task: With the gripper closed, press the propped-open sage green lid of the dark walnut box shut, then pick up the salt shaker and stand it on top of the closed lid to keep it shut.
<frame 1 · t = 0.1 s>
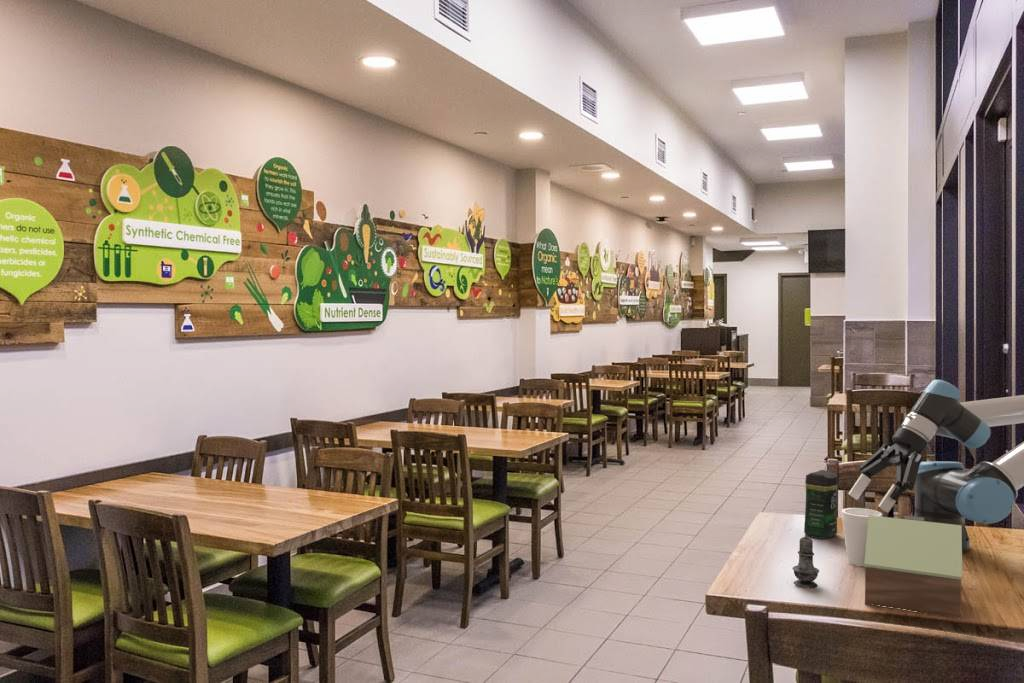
hand: (867, 503, 198), 15 cm above the table, tool tilted 35°, fingers open, 13 cm apart
foam cup: (861, 563, 199), on the table
lid: (913, 544, 170), point 13 cm above the table, hinge at 35.0°
box: (912, 601, 171), on the table
coffee jar: (821, 535, 225), on the table
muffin: (914, 577, 188), on the table
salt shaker: (805, 585, 182), on the table
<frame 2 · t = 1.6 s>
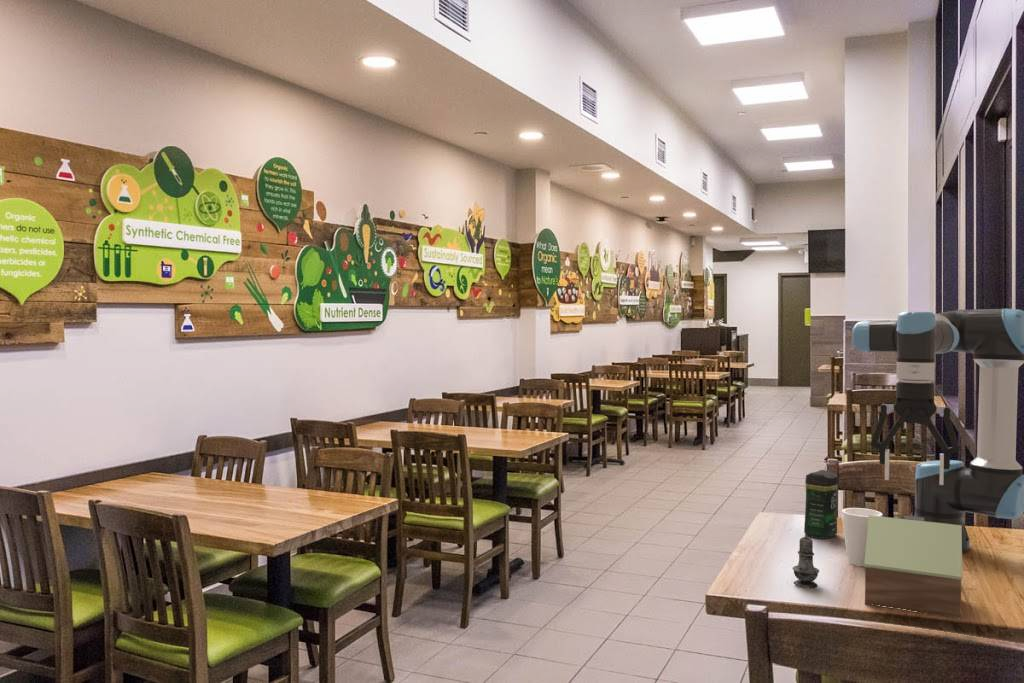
hand: (913, 481, 173), 26 cm above the table, tool pointing down, fingers open, 10 cm apart
nothing on the table moved.
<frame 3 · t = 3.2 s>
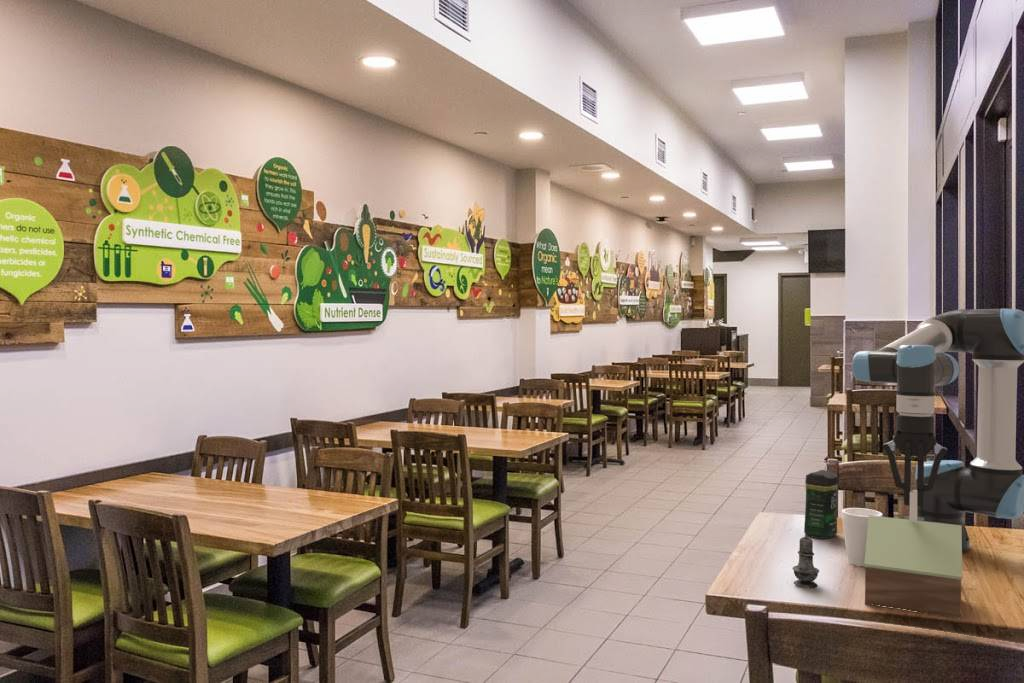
hand: (913, 520, 173), 17 cm above the table, tool pointing down, fingers closed
lid: (913, 544, 170), point 13 cm above the table, hinge at 35.0°, touching gripper
everything else where it was.
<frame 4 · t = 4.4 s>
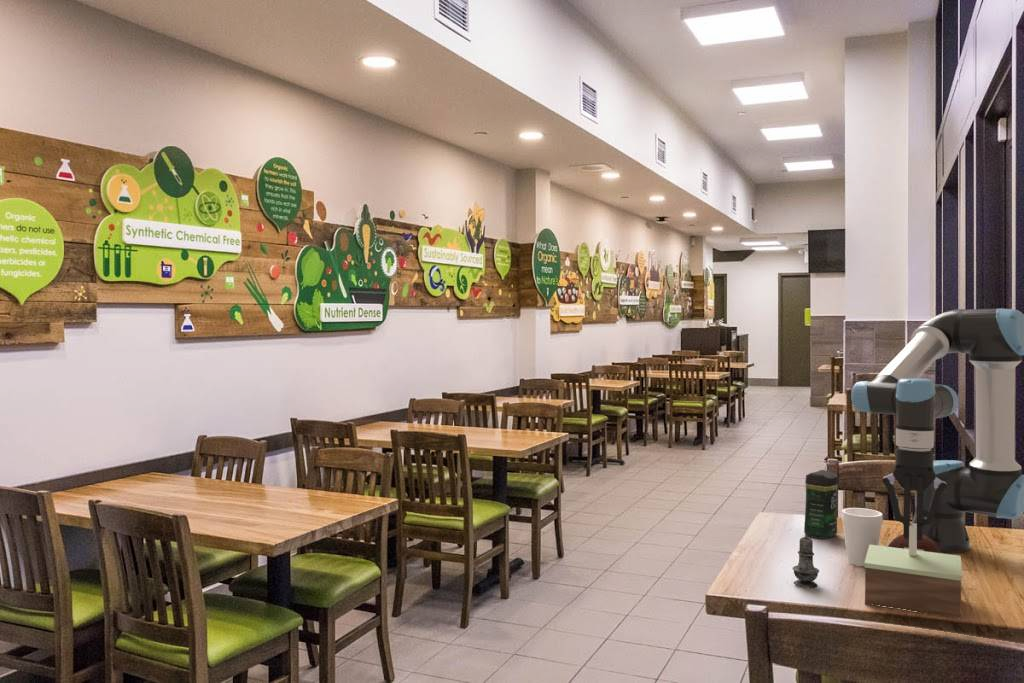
hand: (912, 553, 174), 10 cm above the table, tool pointing down, fingers closed
lid: (913, 562, 172), point 8 cm above the table, hinge at 2.1°, touching gripper
everything else where it was.
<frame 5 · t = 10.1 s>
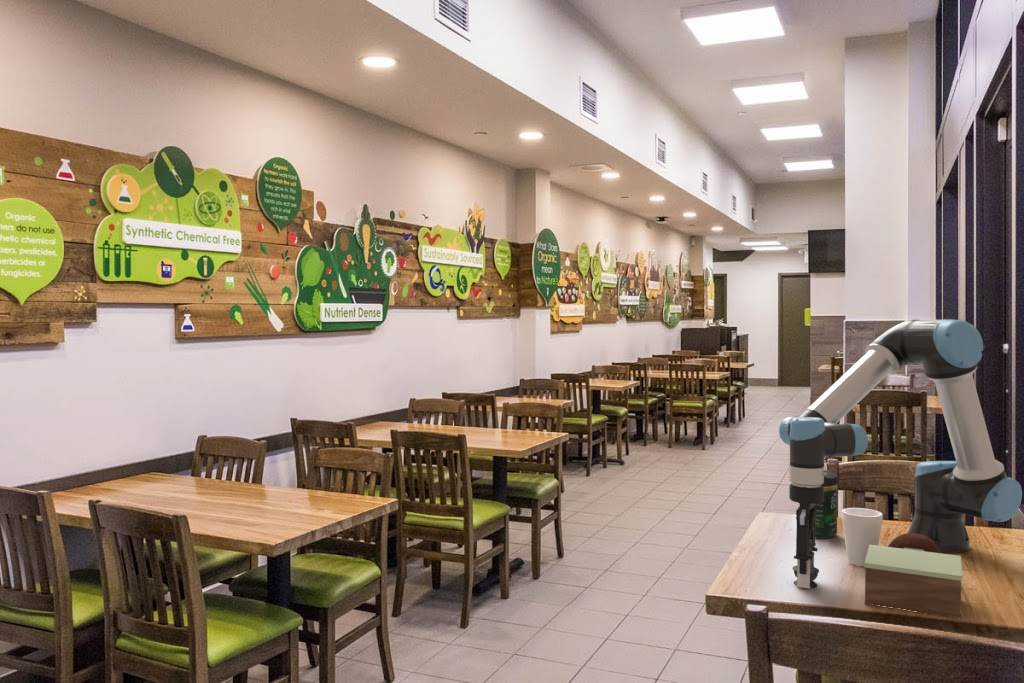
hand: (805, 582, 182), 0 cm above the table, tool pointing down, fingers closed on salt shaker, 6 cm apart
lid: (913, 562, 172), point 8 cm above the table, hinge at 2.1°
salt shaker: (805, 585, 182), on the table, touching gripper
everything else where it was.
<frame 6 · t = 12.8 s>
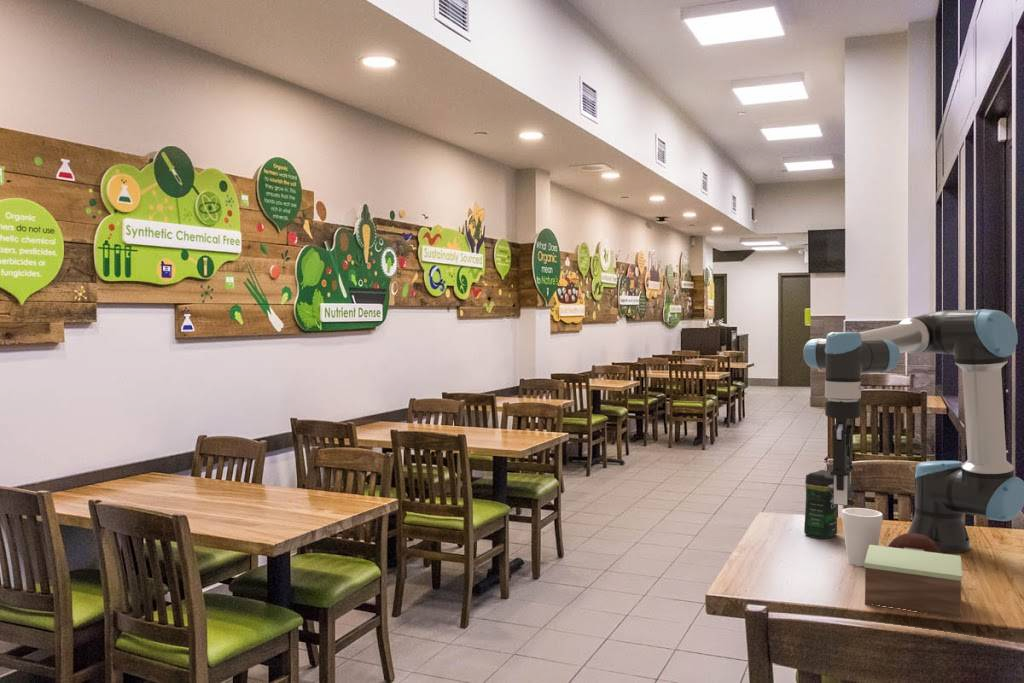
hand: (842, 500, 178), 20 cm above the table, tool pointing down, fingers closed on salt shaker, 6 cm apart
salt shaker: (842, 503, 178), point 20 cm above the table, touching gripper
everything else where it was.
when the fingers open (11 cm above the table, at t = 15.8 s): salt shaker drops 2 cm, resting on lid.
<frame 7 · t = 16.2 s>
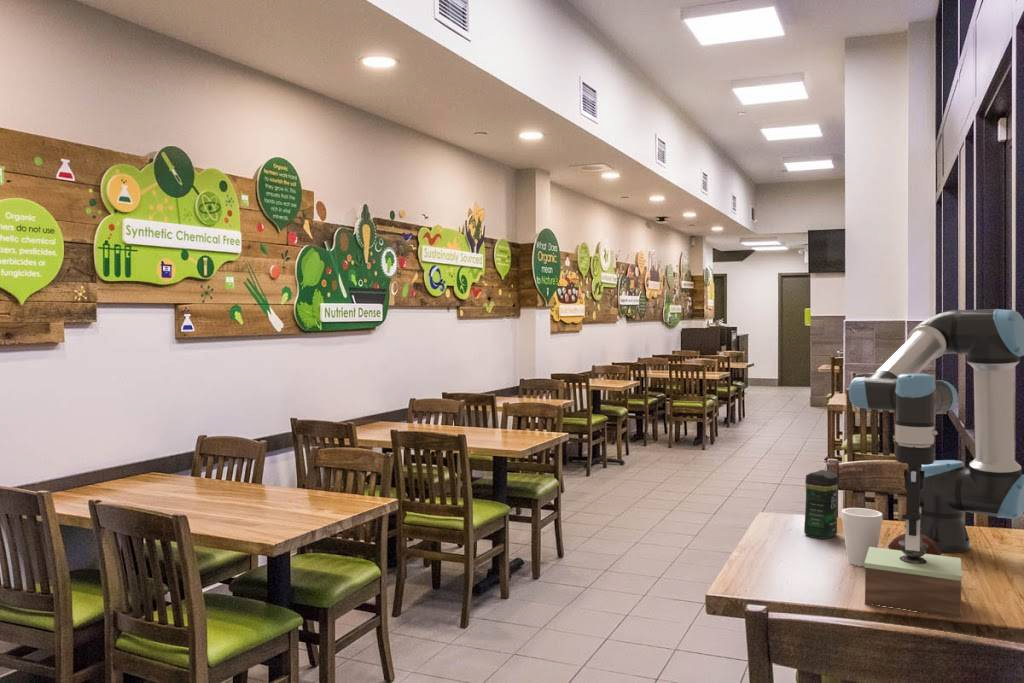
hand: (913, 542, 171), 13 cm above the table, tool pointing down, fingers open, 12 cm apart
lid: (913, 563, 172), point 8 cm above the table, hinge at 0.0°, touching box, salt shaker
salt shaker: (913, 561, 171), point 9 cm above the table, touching lid
everything else where it was.
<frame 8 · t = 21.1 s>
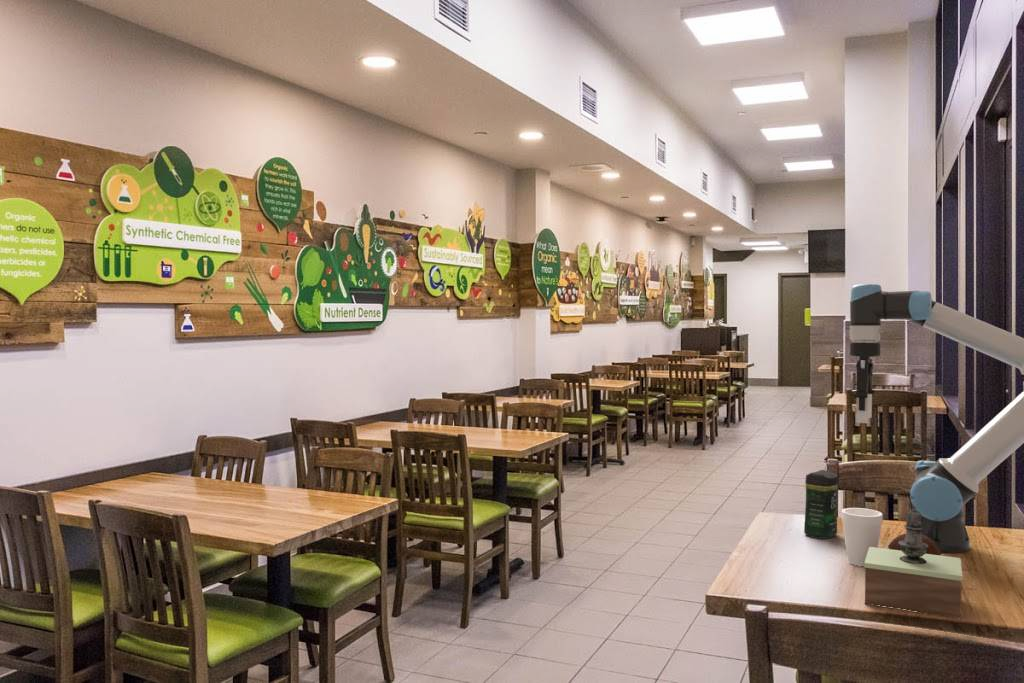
hand: (864, 420, 211), 35 cm above the table, tool pointing down, fingers open, 13 cm apart
nothing on the table moved.
at the end: lid at +0° (first picture: +35°); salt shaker inside the target area on the box (0.0 cm from its centre), point 8.8 cm above the box's base; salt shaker tilted 0° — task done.
